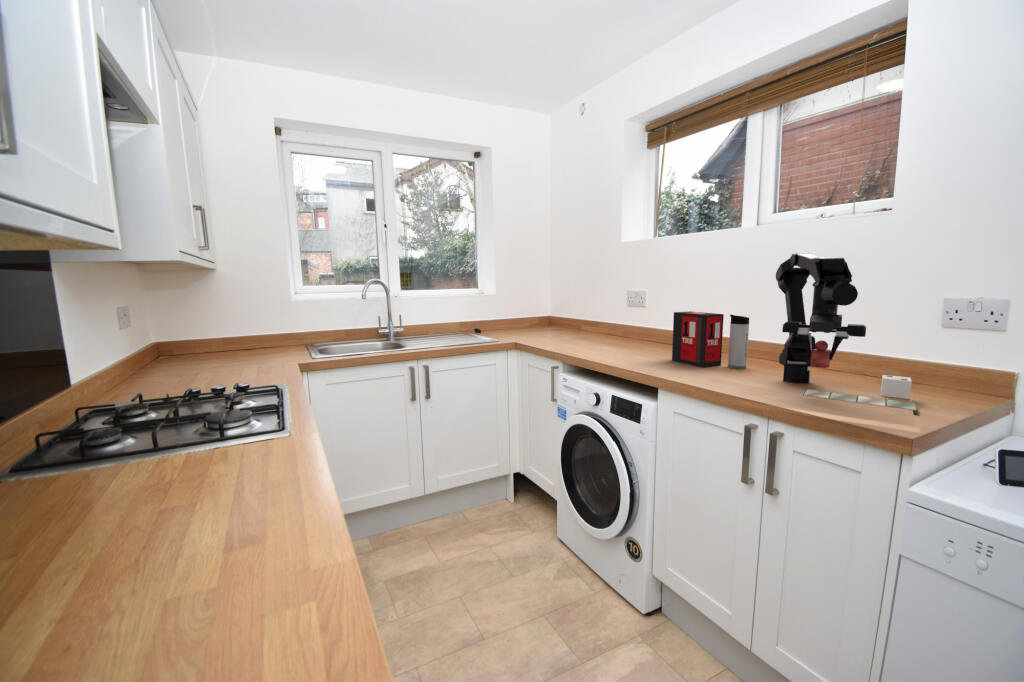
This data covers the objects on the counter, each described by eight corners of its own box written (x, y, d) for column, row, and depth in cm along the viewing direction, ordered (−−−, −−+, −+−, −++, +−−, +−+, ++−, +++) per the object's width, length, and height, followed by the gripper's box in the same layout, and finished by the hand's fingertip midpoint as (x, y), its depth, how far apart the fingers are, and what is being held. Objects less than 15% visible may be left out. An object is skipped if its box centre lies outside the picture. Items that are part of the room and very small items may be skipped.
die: (880, 399, 123) (882, 378, 123) (880, 395, 128) (882, 374, 127) (909, 403, 120) (911, 381, 119) (908, 398, 124) (910, 377, 123)
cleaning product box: (720, 365, 172) (723, 314, 169) (703, 367, 168) (706, 315, 165) (688, 358, 187) (690, 311, 184) (671, 360, 183) (673, 312, 180)
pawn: (809, 366, 124) (811, 340, 123) (811, 364, 128) (813, 339, 127) (828, 368, 122) (830, 342, 121) (830, 365, 125) (832, 340, 124)
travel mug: (724, 365, 172) (727, 314, 169) (742, 365, 171) (746, 314, 168) (730, 369, 166) (733, 315, 163) (749, 369, 165) (752, 315, 162)
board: (802, 399, 125) (802, 395, 124) (806, 392, 131) (806, 388, 131) (917, 414, 109) (917, 410, 109) (915, 406, 116) (915, 402, 116)
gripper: (781, 304, 122) (777, 360, 124) (868, 306, 110) (861, 367, 112) (787, 302, 131) (783, 354, 133) (868, 303, 119) (862, 361, 121)
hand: (820, 359), depth 124 cm, fingers closed on pawn, 4 cm apart
